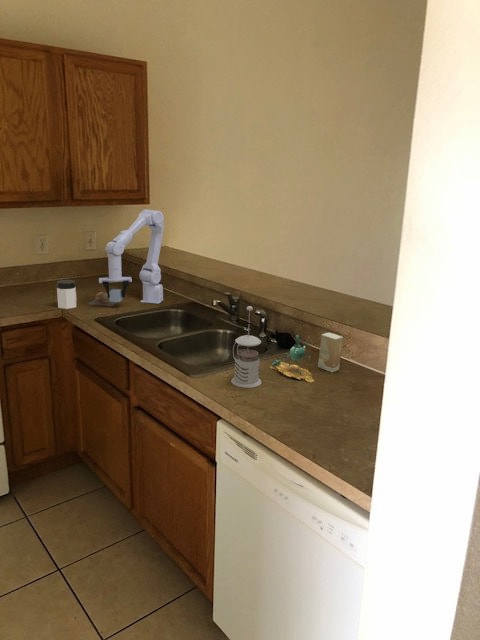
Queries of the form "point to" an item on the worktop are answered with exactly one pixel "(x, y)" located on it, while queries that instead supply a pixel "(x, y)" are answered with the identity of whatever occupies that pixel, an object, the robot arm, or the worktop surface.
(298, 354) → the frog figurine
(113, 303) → the mat
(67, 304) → the jar
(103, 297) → the slab upper
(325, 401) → the worktop surface
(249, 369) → the french press
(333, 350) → the skincare box
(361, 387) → the worktop surface
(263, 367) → the worktop surface
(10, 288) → the worktop surface
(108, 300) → the tan cardboard box
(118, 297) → the blue cube
